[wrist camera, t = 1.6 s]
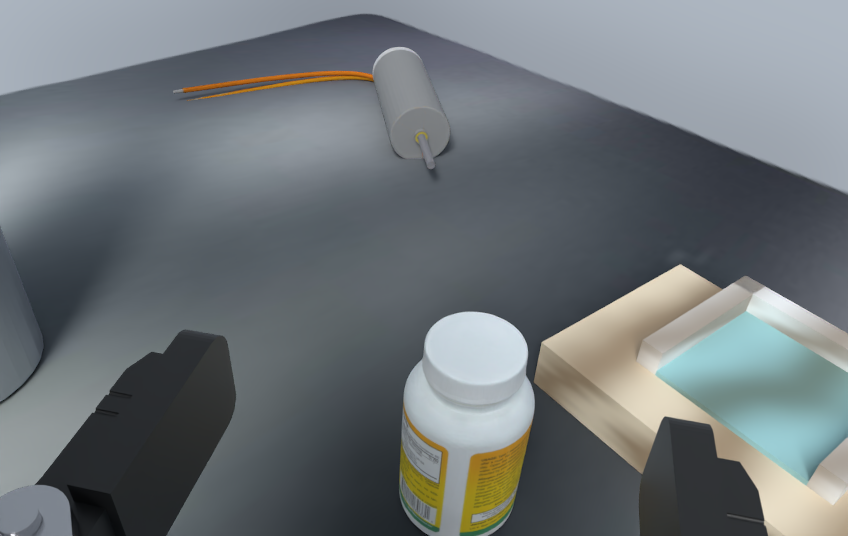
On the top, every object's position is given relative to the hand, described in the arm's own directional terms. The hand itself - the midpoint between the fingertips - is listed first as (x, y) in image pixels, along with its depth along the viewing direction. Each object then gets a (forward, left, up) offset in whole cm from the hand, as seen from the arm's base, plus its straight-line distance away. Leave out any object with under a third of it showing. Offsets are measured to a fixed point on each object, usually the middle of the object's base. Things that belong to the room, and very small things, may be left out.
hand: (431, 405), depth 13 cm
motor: (-44, +21, -19) cm, 52 cm away
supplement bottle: (-7, +8, -18) cm, 21 cm away
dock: (-1, +22, -18) cm, 29 cm away
